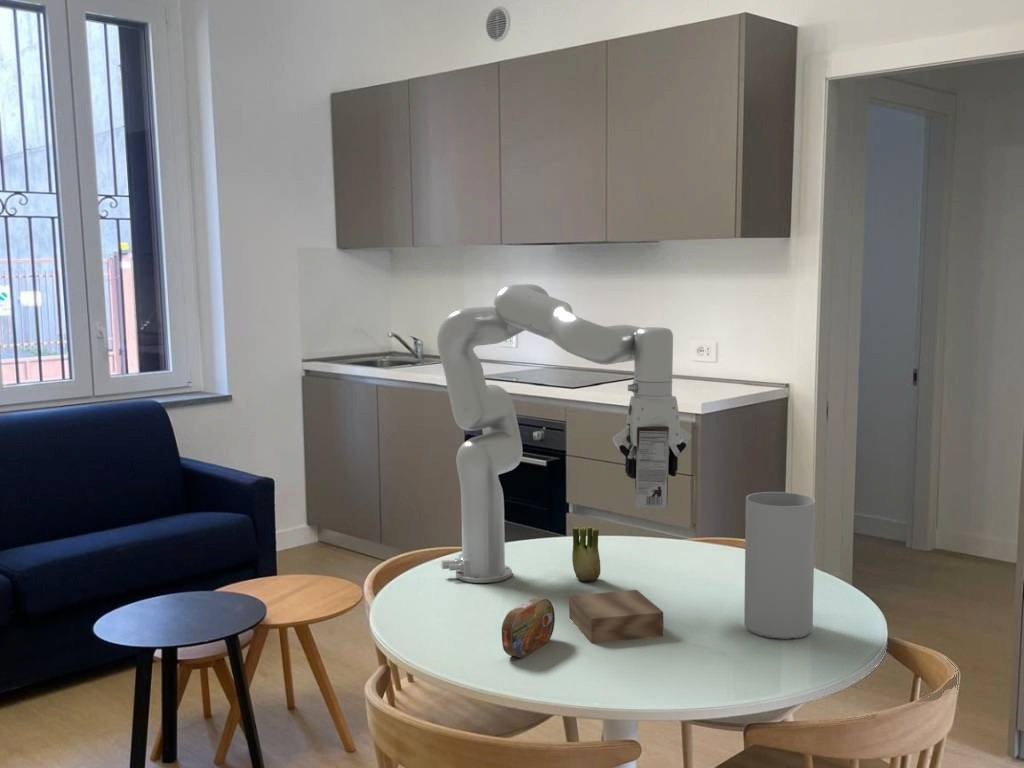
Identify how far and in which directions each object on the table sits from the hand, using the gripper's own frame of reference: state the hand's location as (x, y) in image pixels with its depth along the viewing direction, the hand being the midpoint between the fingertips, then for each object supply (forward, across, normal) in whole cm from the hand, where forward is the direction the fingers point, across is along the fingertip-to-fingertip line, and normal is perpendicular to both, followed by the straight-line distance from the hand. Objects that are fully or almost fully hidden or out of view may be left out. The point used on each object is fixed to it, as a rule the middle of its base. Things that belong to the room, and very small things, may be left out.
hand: (651, 475), depth 204 cm
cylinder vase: (+26, +18, -21) cm, 38 cm away
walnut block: (+27, -12, -11) cm, 31 cm away
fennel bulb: (+27, -6, +19) cm, 34 cm away
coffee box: (+6, 0, 0) cm, 6 cm away
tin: (+27, -30, -17) cm, 44 cm away
